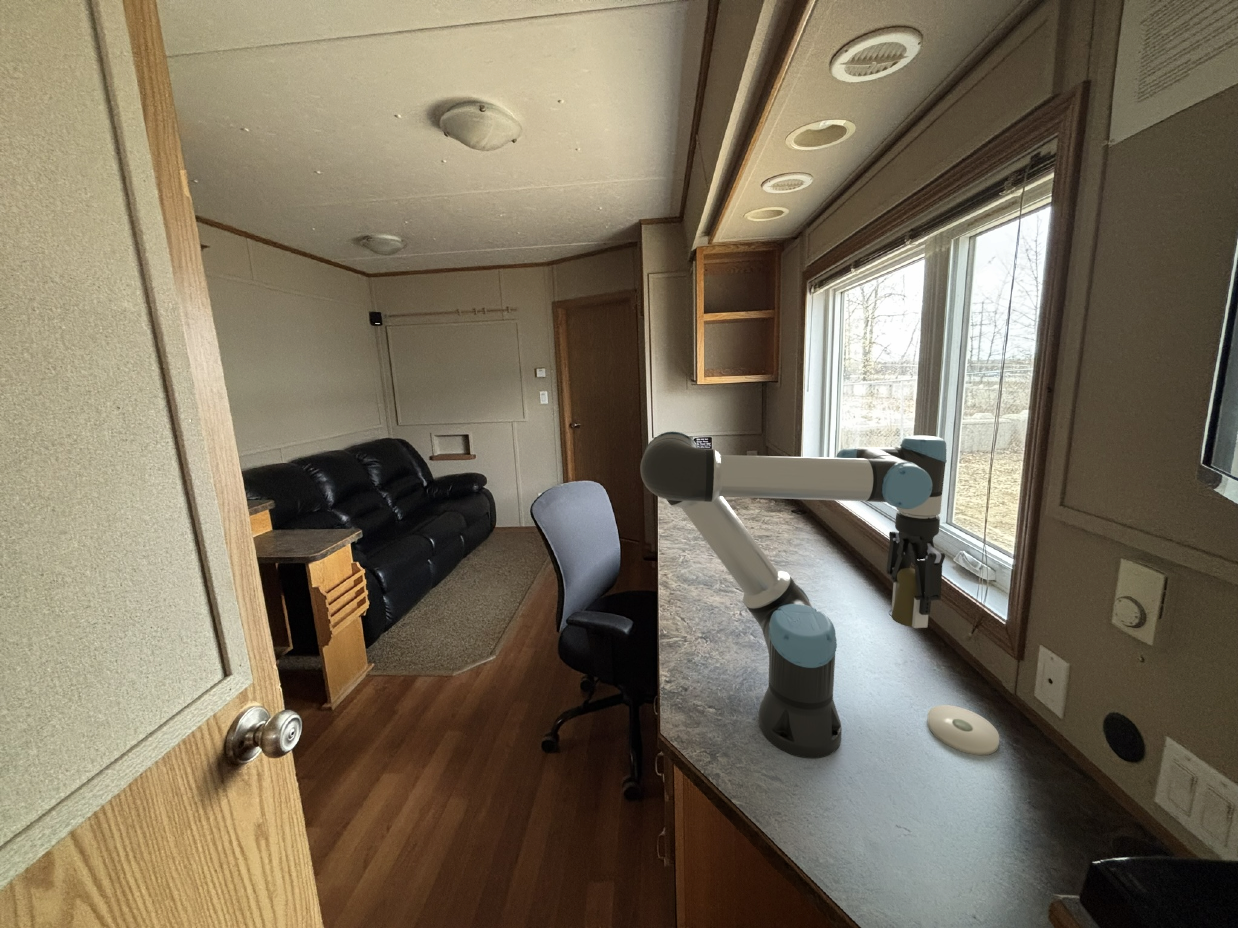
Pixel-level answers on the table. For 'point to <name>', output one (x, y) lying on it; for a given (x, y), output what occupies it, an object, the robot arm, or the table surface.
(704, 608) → the table surface
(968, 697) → the table surface
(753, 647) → the table surface
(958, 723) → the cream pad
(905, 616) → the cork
